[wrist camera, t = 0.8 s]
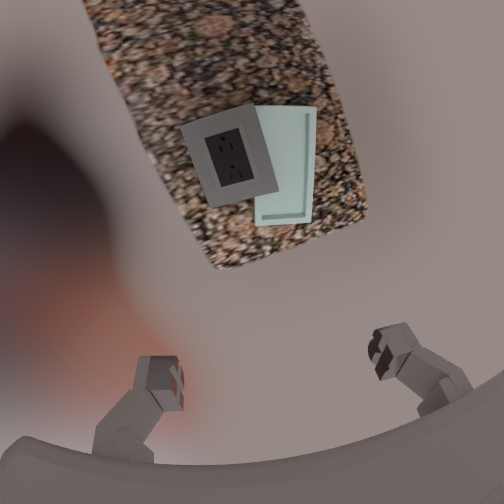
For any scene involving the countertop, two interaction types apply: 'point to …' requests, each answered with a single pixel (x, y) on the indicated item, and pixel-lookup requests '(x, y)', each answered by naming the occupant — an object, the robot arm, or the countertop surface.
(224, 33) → the countertop surface
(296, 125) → the parts tray
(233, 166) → the electrical outlet
